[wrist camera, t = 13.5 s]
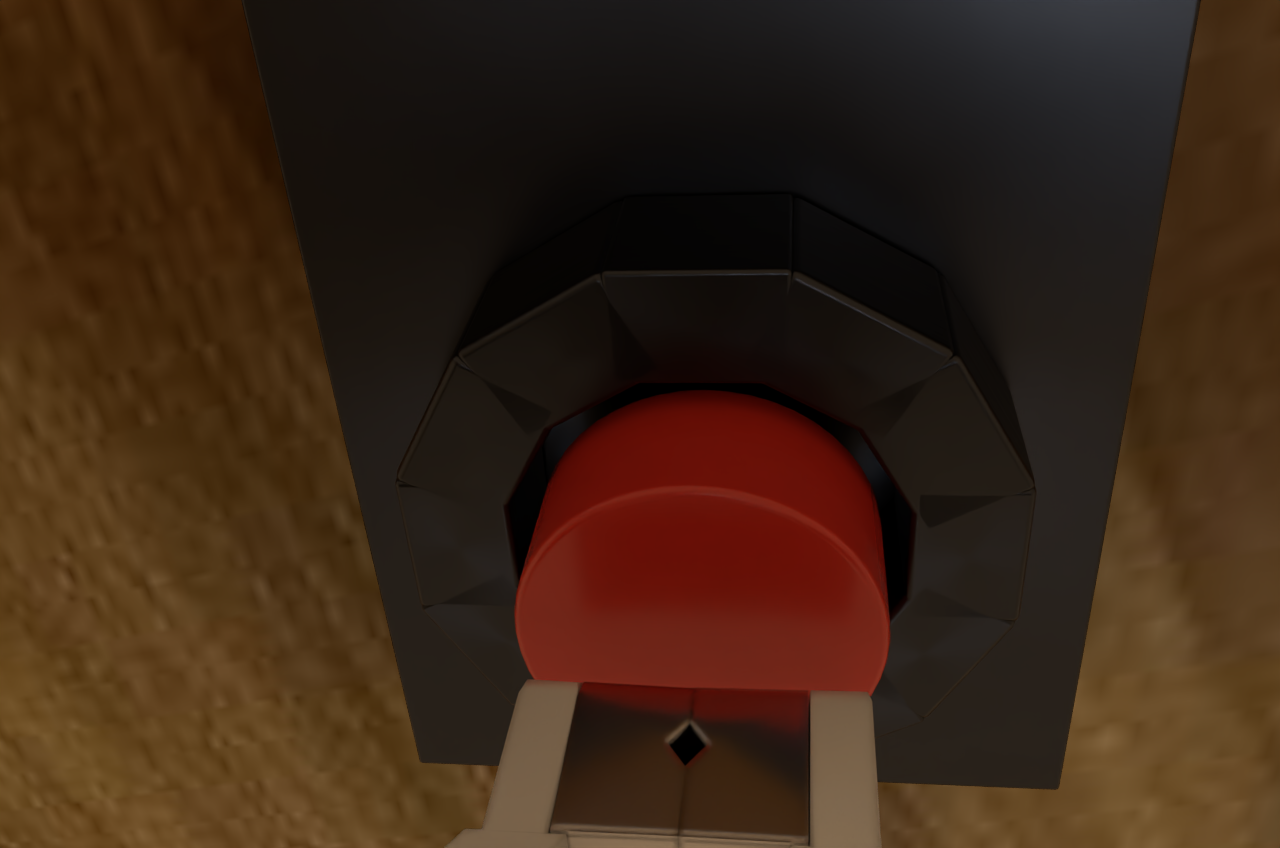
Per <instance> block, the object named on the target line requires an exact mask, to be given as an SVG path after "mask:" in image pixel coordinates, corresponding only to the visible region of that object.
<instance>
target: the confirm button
mask: <svg viewBox="0 0 1280 848" xmlns="http://www.w3.org/2000/svg"><path fill="white" fill-rule="evenodd" d="M514 619H515V631H516V635H517V639H518V643H519V647H520V651H521V653H522V656H523V658H524V661H525V663H526V665H527V668H528V670H529V672H530V673H531V675H532V677H533V678H534V680H548V681H564V682H580V683H584V682H599V683H616V684H632V685H649V686H665V687H682V688H695V687H702V688H740V689H778V690H808V697H809V695H810V691H811V690H818V691H856V692H868V694H869V696H870V697H871V695H872V693H873V692H874V690H875V688H876V686H877V684H878V682H879V681H880V679H881V677H882V674H883V671H884V668H885V665H886V662H887V659H888V654H889V647H890V617H889V605H888V594H887V583H886V572H885V561H884V550H883V538H882V527H881V518H880V513H879V508H878V503H877V500H876V497H875V494H874V492H873V489H872V486H871V484H870V482H869V480H868V478H867V477H866V475H865V473H864V471H863V470H862V468H861V466H860V465H859V464H858V462H857V461H856V460H855V459H854V457H853V456H852V455H851V453H850V452H849V451H848V450H847V449H846V448H845V447H844V446H843V445H842V444H841V443H840V442H839V441H838V440H837V439H836V438H835V437H834V436H833V435H832V434H831V433H829V432H828V431H827V430H825V429H824V428H822V427H821V426H820V425H818V424H817V423H816V422H814V421H813V420H811V419H809V418H808V417H806V416H804V415H802V414H801V413H799V412H797V411H795V410H793V409H791V408H789V407H786V406H784V405H781V404H779V403H777V402H774V401H772V400H768V399H765V398H761V397H758V396H754V395H751V394H745V393H739V392H734V391H728V390H711V389H696V390H679V391H674V392H668V393H662V394H657V395H653V396H650V397H647V398H643V399H640V400H637V401H634V402H632V403H630V404H627V405H625V406H623V407H620V408H618V409H616V410H614V411H613V412H611V413H609V414H608V415H606V416H604V417H603V418H601V419H599V420H598V421H596V422H595V423H594V424H592V425H591V426H590V427H589V428H587V429H586V430H585V431H584V432H582V433H581V434H580V435H579V436H578V437H577V438H576V439H575V440H574V442H573V443H572V444H571V445H570V446H569V447H568V448H567V449H566V451H565V452H564V454H563V455H562V457H561V458H560V460H559V461H558V463H557V464H556V466H555V468H554V471H553V473H552V475H551V477H550V479H549V482H548V485H547V489H546V492H545V496H544V499H543V502H542V506H541V509H540V513H539V516H538V519H537V523H536V526H535V530H534V533H533V536H532V540H531V543H530V547H529V550H528V554H527V557H526V560H525V564H524V567H523V571H522V574H521V577H520V581H519V585H518V588H517V592H516V597H515V607H514Z"/></svg>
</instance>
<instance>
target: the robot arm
mask: <svg viewBox="0 0 1280 848" xmlns="http://www.w3.org/2000/svg"><path fill="white" fill-rule="evenodd" d="M444 848H881V832H880V816H879V801H878V785H877V769H876V753H875V737H874V722H873V706H872V700H871V698H870V696H869V694H868V692H856V691H818V690H811V691H810V695H809V697H808V690H778V689H740V688H702V687H695V688H682V687H665V686H649V685H632V684H616V683H599V682H584V683H580V682H564V681H548V680H533V679H527V681H526V682H525V684H524V685H523V687H522V688H521V690H520V691H519V693H518V697H517V700H516V704H515V708H514V712H513V715H512V719H511V723H510V726H509V730H508V734H507V737H506V741H505V745H504V748H503V752H502V756H501V759H500V763H499V767H498V770H497V774H496V778H495V782H494V785H493V789H492V793H491V796H490V800H489V804H488V807H487V811H486V815H485V818H484V822H483V826H482V829H464V830H463V831H462V832H461V833H460V834H458V835H457V836H456V837H455V838H454V839H453V840H452V841H451V842H450V843H449V844H447V845H446V846H445V847H444Z"/></svg>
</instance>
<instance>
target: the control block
mask: <svg viewBox="0 0 1280 848" xmlns="http://www.w3.org/2000/svg"><path fill="white" fill-rule="evenodd" d="M1200 2H1201V0H242V4H243V9H244V13H245V17H246V22H247V26H248V30H249V34H250V39H251V43H252V47H253V51H254V56H255V60H256V64H257V68H258V73H259V77H260V81H261V85H262V90H263V94H264V98H265V103H266V107H267V111H268V115H269V120H270V124H271V128H272V132H273V137H274V141H275V145H276V149H277V154H278V158H279V162H280V166H281V171H282V175H283V179H284V184H285V188H286V192H287V196H288V201H289V205H290V209H291V213H292V218H293V222H294V226H295V230H296V235H297V239H298V243H299V248H300V252H301V256H302V260H303V265H304V269H305V273H306V277H307V282H308V286H309V290H310V294H311V299H312V303H313V307H314V311H315V316H316V320H317V324H318V329H319V333H320V337H321V341H322V346H323V350H324V354H325V358H326V363H327V367H328V371H329V375H330V380H331V384H332V388H333V392H334V397H335V401H336V405H337V410H338V414H339V418H340V422H341V427H342V431H343V435H344V439H345V444H346V448H347V452H348V456H349V461H350V465H351V469H352V473H353V478H354V482H355V486H356V491H357V495H358V499H359V503H360V508H361V512H362V516H363V520H364V525H365V529H366V533H367V537H368V542H369V546H370V550H371V554H372V559H373V563H374V567H375V572H376V576H377V580H378V584H379V589H380V593H381V597H382V601H383V606H384V610H385V614H386V618H387V623H388V627H389V631H390V635H391V640H392V644H393V648H394V653H395V657H396V661H397V665H398V670H399V674H400V678H401V682H402V687H403V691H404V695H405V699H406V704H407V708H408V712H409V716H410V721H411V725H412V729H413V734H414V738H415V742H416V746H417V751H418V755H419V759H420V762H422V763H441V764H464V765H488V766H499V763H500V759H501V756H502V752H503V748H504V745H505V741H506V737H507V734H508V730H509V726H510V723H511V719H512V715H513V712H514V708H515V704H516V700H517V697H518V693H519V691H520V690H521V688H522V687H523V685H524V684H525V682H526V681H527V679H533V680H534V678H533V677H532V675H531V673H530V672H529V670H528V668H527V665H526V663H525V661H524V658H523V656H522V653H521V651H520V647H519V643H518V639H517V635H516V631H515V619H514V607H515V597H516V592H517V588H518V585H519V581H520V577H521V574H522V571H523V567H524V564H525V560H526V557H527V554H528V550H529V547H530V543H531V540H532V536H533V533H534V530H535V526H536V523H537V519H538V516H539V513H540V509H541V506H542V502H543V499H544V496H545V492H546V489H547V485H548V482H549V479H550V477H551V475H552V473H553V471H554V468H555V466H556V464H557V463H558V461H559V460H560V458H561V457H562V455H563V454H564V452H565V451H566V449H567V448H568V447H569V446H570V445H571V444H572V443H573V442H574V440H575V439H576V438H577V437H578V436H579V435H580V434H581V433H582V432H584V431H585V430H586V429H587V428H589V427H590V426H591V425H592V424H594V423H595V422H596V421H598V420H599V419H601V418H603V417H604V416H606V415H608V414H609V413H611V412H613V411H614V410H616V409H618V408H620V407H623V406H625V405H627V404H630V403H632V402H634V401H637V400H640V399H643V398H647V397H650V396H653V395H657V394H662V393H668V392H674V391H679V390H696V389H711V390H728V391H734V392H739V393H745V394H751V395H754V396H758V397H761V398H765V399H768V400H772V401H774V402H777V403H779V404H781V405H784V406H786V407H789V408H791V409H793V410H795V411H797V412H799V413H801V414H802V415H804V416H806V417H808V418H809V419H811V420H813V421H814V422H816V423H817V424H818V425H820V426H821V427H822V428H824V429H825V430H827V431H828V432H829V433H831V434H832V435H833V436H834V437H835V438H836V439H837V440H838V441H839V442H840V443H841V444H842V445H843V446H844V447H845V448H846V449H847V450H848V451H849V452H850V453H851V455H852V456H853V457H854V459H855V460H856V461H857V462H858V464H859V465H860V466H861V468H862V470H863V471H864V473H865V475H866V477H867V478H868V480H869V482H870V484H871V486H872V489H873V492H874V494H875V497H876V500H877V503H878V508H879V513H880V518H881V527H882V538H883V550H884V561H885V572H886V583H887V594H888V605H889V617H890V647H889V654H888V659H887V662H886V665H885V668H884V671H883V674H882V677H881V679H880V681H879V682H878V684H877V686H876V688H875V690H874V692H873V693H872V695H871V697H870V698H871V700H872V706H873V722H874V737H875V753H876V769H877V782H889V783H912V784H936V785H960V786H983V787H1007V788H1030V789H1054V790H1056V789H1058V788H1059V784H1060V779H1061V773H1062V768H1063V762H1064V756H1065V751H1066V745H1067V740H1068V734H1069V729H1070V723H1071V718H1072V712H1073V707H1074V701H1075V695H1076V690H1077V684H1078V679H1079V673H1080V668H1081V662H1082V657H1083V651H1084V646H1085V640H1086V635H1087V629H1088V623H1089V618H1090V612H1091V607H1092V601H1093V596H1094V590H1095V585H1096V579H1097V574H1098V568H1099V562H1100V557H1101V551H1102V546H1103V540H1104V535H1105V529H1106V524H1107V518H1108V513H1109V507H1110V501H1111V496H1112V490H1113V485H1114V479H1115V474H1116V468H1117V463H1118V457H1119V452H1120V446H1121V440H1122V435H1123V429H1124V424H1125V418H1126V413H1127V407H1128V402H1129V396H1130V391H1131V385H1132V379H1133V374H1134V368H1135V363H1136V357H1137V352H1138V346H1139V341H1140V335H1141V330H1142V324H1143V318H1144V313H1145V307H1146V302H1147V296H1148V291H1149V285H1150V280H1151V274H1152V269H1153V263H1154V257H1155V252H1156V246H1157V241H1158V235H1159V230H1160V224H1161V219H1162V213H1163V208H1164V202H1165V196H1166V191H1167V185H1168V180H1169V174H1170V169H1171V163H1172V158H1173V152H1174V147H1175V141H1176V136H1177V130H1178V124H1179V119H1180V113H1181V108H1182V102H1183V97H1184V91H1185V86H1186V80H1187V75H1188V69H1189V63H1190V58H1191V52H1192V47H1193V41H1194V36H1195V30H1196V25H1197V19H1198V14H1199V8H1200Z"/></svg>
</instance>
